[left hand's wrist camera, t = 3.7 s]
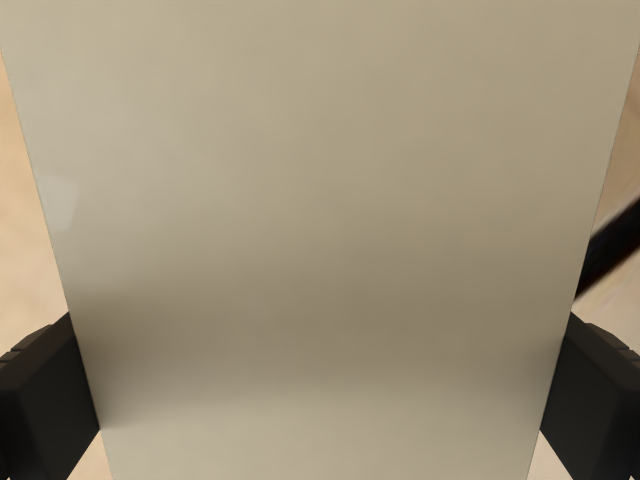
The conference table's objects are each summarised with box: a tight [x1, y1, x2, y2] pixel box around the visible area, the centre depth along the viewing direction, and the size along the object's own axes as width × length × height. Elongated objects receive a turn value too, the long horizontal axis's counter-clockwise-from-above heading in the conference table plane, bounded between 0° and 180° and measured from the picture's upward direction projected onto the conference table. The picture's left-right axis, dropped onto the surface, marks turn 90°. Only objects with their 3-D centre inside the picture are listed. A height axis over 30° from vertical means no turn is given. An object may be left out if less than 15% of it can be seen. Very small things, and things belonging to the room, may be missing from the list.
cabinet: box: [0, 0, 640, 480], centre depth 12 cm, size 18×11×11 cm, turn 0°
